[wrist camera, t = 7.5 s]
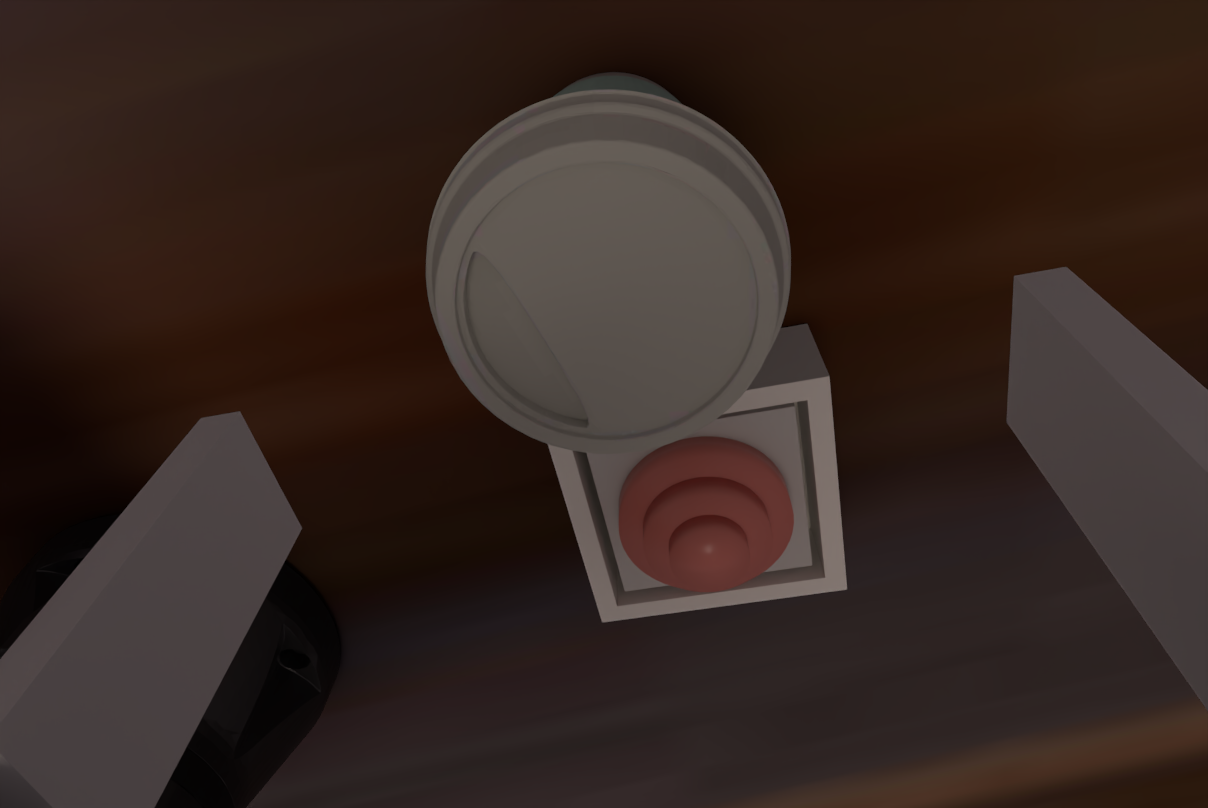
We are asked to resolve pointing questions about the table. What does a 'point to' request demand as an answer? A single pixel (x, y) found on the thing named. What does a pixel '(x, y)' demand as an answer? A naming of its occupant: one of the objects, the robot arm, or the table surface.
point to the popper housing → (805, 382)
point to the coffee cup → (608, 268)
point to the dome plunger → (708, 504)
